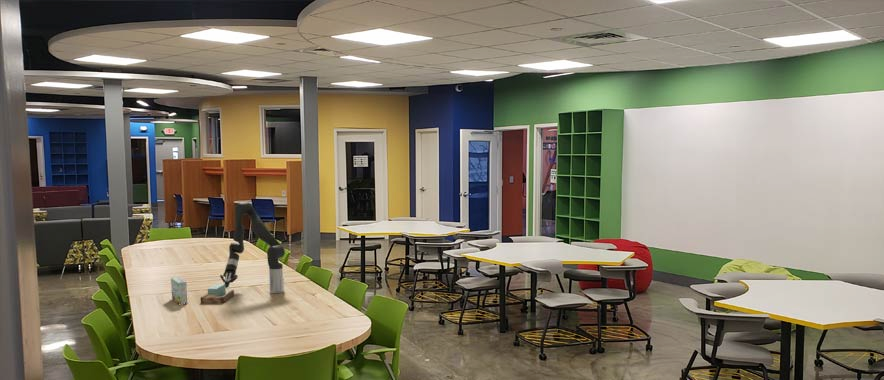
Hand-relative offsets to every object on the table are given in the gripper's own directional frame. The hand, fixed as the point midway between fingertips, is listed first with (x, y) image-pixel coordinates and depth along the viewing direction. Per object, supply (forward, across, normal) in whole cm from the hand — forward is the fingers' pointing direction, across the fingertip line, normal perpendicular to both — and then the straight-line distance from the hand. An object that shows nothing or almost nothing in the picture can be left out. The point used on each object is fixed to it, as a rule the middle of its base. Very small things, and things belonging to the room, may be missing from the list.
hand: (226, 287), depth 428 cm
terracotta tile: (+18, -3, -11) cm, 21 cm away
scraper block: (+11, -2, -4) cm, 12 cm away
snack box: (+18, -24, -11) cm, 32 cm away
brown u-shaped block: (+15, 0, -8) cm, 17 cm away
